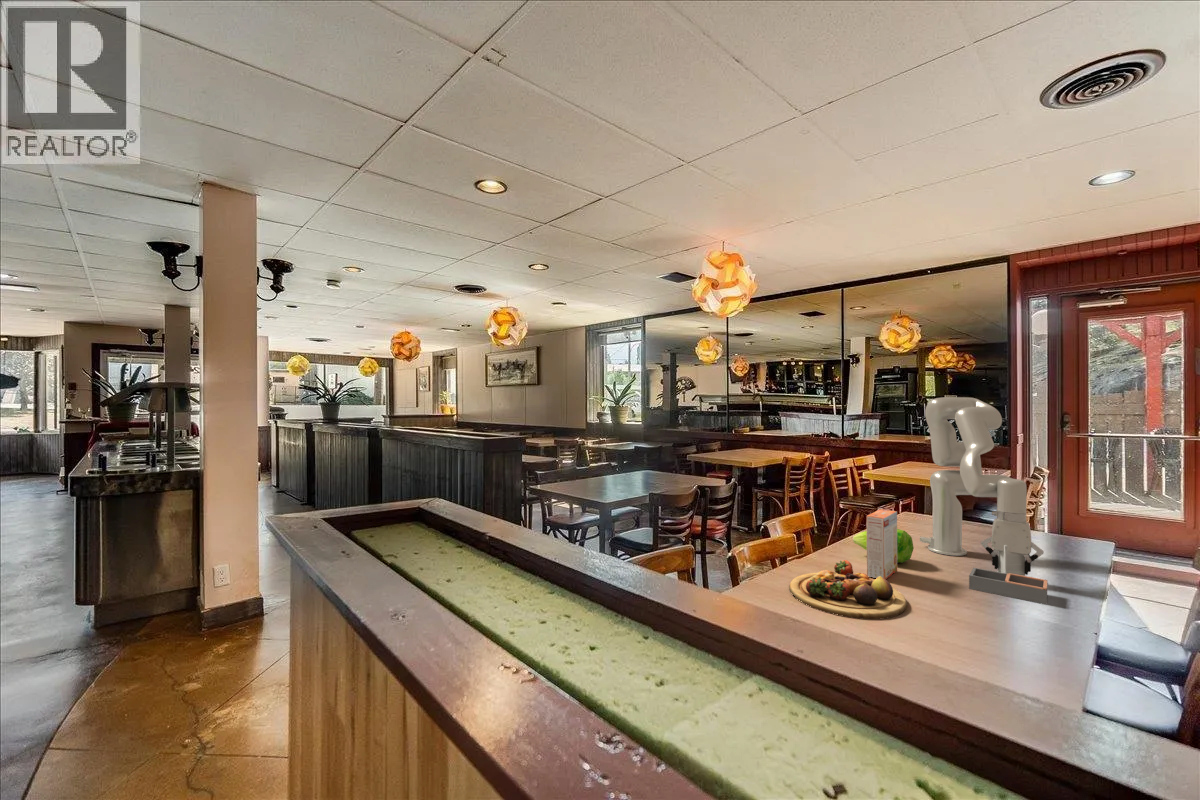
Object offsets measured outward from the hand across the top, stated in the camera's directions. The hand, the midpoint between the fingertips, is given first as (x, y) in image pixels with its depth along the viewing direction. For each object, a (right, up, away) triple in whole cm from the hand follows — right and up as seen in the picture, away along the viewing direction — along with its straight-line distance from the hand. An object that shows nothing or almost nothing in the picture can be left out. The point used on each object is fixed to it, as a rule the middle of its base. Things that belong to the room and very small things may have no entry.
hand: (1011, 570), depth 169 cm
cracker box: (-39, -3, +6) cm, 40 cm away
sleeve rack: (-9, -3, -10) cm, 13 cm away
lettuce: (-30, -3, +22) cm, 37 cm away
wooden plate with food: (-61, -4, -14) cm, 62 cm away
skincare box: (0, -4, 0) cm, 4 cm away
